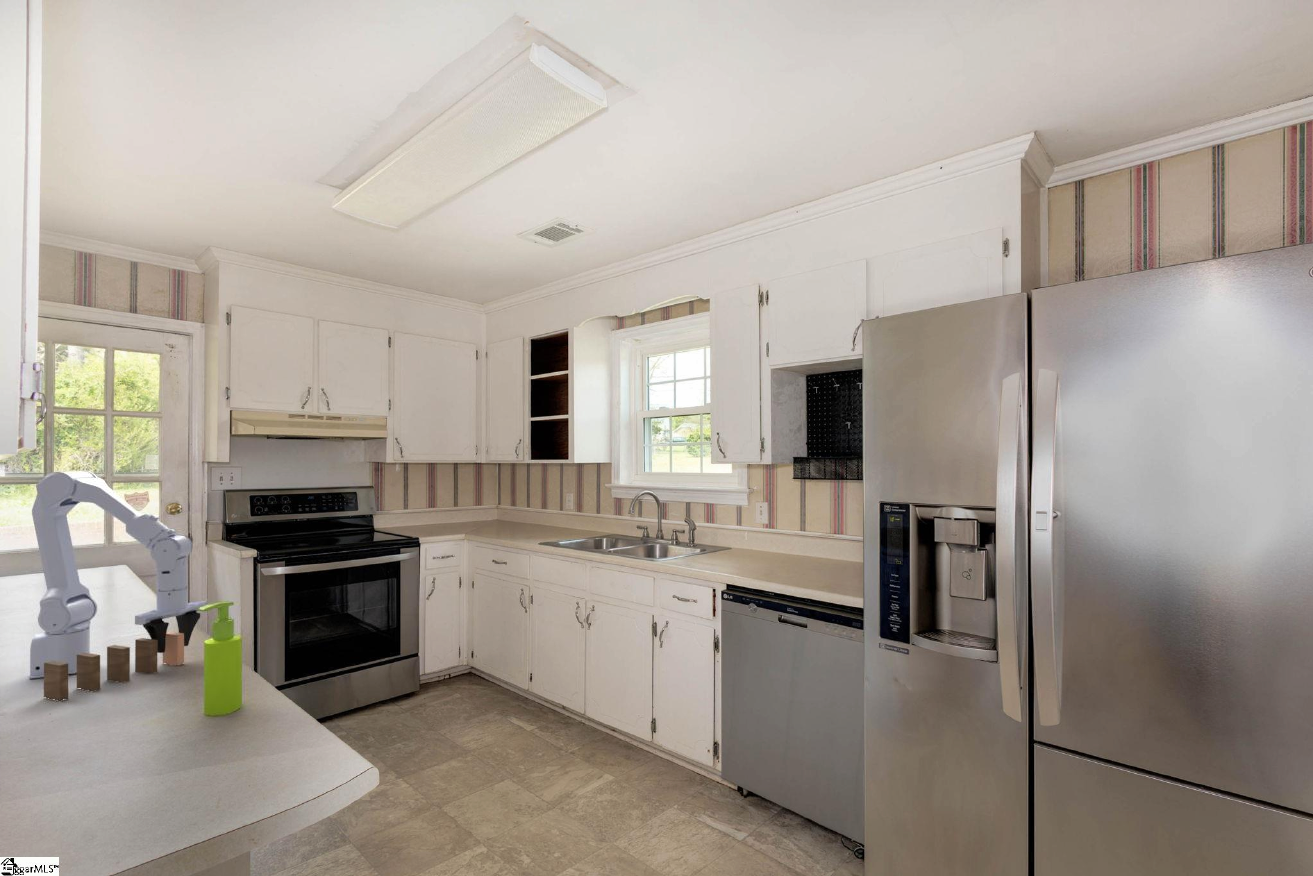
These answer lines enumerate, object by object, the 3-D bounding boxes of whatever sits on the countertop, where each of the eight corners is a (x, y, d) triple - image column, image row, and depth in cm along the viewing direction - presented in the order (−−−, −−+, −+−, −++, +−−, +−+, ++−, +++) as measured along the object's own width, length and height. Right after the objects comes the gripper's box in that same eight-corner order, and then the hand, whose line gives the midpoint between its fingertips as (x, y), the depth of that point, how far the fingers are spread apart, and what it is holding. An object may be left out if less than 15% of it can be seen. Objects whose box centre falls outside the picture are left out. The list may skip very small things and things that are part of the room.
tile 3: (122, 682, 138) (122, 649, 138) (106, 680, 140) (107, 646, 140) (129, 680, 140) (129, 647, 140) (114, 677, 141) (114, 644, 141)
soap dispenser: (191, 714, 121) (191, 605, 121) (230, 701, 127) (230, 597, 127) (209, 720, 118) (209, 608, 119) (248, 706, 124) (248, 600, 125)
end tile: (59, 701, 128) (59, 665, 128) (43, 698, 130) (44, 662, 130) (68, 699, 129) (68, 663, 129) (52, 696, 131) (52, 660, 131)
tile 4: (92, 691, 133) (92, 657, 133) (76, 688, 135) (76, 654, 135) (100, 689, 134) (100, 654, 135) (84, 686, 136) (84, 652, 136)
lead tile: (177, 666, 149) (177, 635, 149) (162, 664, 150) (162, 633, 150) (184, 664, 150) (184, 633, 150) (169, 662, 152) (168, 631, 152)
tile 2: (150, 674, 143) (150, 641, 144) (135, 671, 145) (135, 639, 145) (157, 672, 145) (157, 640, 145) (141, 669, 146) (142, 637, 147)
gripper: (150, 596, 142) (149, 660, 142) (215, 583, 156) (215, 641, 156) (128, 594, 145) (128, 657, 144) (194, 581, 158) (194, 638, 158)
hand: (172, 648), depth 150 cm, fingers open, 5 cm apart
